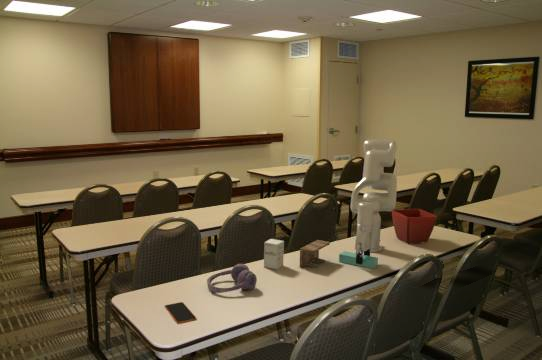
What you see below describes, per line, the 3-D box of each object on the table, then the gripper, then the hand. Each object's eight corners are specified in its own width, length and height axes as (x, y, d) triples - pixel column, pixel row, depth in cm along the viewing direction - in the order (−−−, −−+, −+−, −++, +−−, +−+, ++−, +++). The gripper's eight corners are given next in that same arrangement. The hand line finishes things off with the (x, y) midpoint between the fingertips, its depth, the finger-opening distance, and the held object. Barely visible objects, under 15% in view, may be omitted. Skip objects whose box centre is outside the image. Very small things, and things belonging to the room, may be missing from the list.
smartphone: (182, 303, 182) (182, 301, 182) (197, 320, 168) (197, 318, 168) (163, 307, 179) (163, 304, 178) (177, 325, 164) (177, 322, 164)
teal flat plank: (343, 258, 238) (344, 251, 237) (377, 265, 228) (378, 257, 228) (339, 261, 233) (339, 254, 233) (373, 269, 223) (373, 261, 223)
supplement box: (263, 267, 223) (263, 242, 221) (270, 262, 230) (270, 238, 228) (277, 270, 220) (277, 244, 218) (283, 265, 226) (284, 240, 224)
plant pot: (435, 244, 266) (438, 215, 263) (406, 246, 261) (408, 217, 258) (417, 235, 284) (419, 208, 282) (389, 237, 279) (390, 209, 277)
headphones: (247, 275, 211) (204, 287, 204) (244, 258, 209) (201, 269, 203) (260, 290, 194) (214, 303, 188) (258, 272, 192) (211, 285, 186)
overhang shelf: (316, 257, 239) (317, 239, 237) (329, 260, 235) (329, 242, 233) (299, 267, 224) (300, 248, 222) (312, 270, 220) (313, 251, 219)
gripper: (364, 223, 236) (362, 255, 238) (350, 229, 221) (348, 264, 224) (378, 225, 232) (376, 258, 234) (365, 232, 217) (363, 267, 220)
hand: (362, 261), depth 229 cm, fingers open, 9 cm apart
